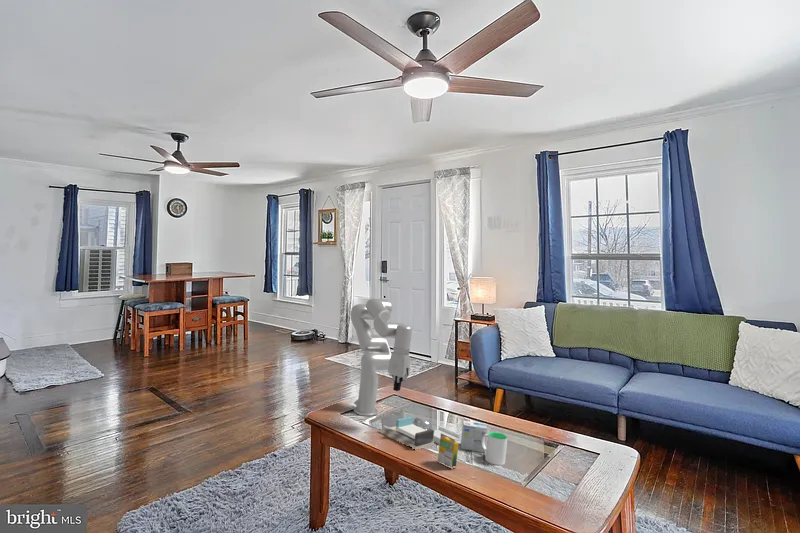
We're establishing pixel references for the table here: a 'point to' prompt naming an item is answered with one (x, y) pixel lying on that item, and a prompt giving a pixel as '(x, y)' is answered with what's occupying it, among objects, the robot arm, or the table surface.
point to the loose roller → (422, 424)
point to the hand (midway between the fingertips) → (396, 390)
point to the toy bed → (408, 427)
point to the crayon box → (448, 451)
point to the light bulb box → (473, 436)
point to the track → (420, 441)
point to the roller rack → (446, 432)
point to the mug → (495, 447)
